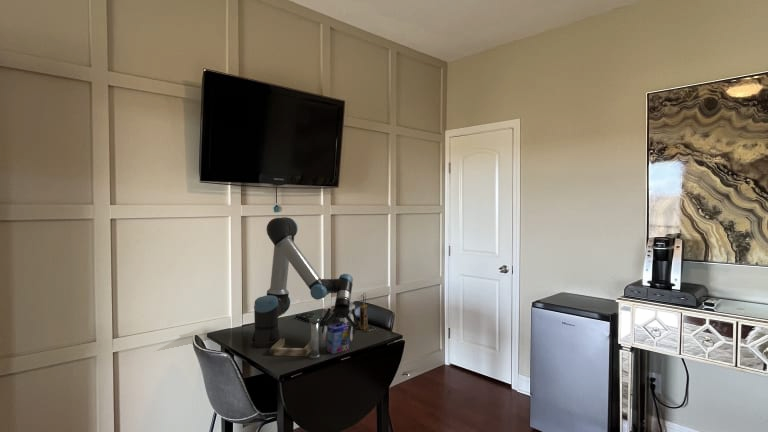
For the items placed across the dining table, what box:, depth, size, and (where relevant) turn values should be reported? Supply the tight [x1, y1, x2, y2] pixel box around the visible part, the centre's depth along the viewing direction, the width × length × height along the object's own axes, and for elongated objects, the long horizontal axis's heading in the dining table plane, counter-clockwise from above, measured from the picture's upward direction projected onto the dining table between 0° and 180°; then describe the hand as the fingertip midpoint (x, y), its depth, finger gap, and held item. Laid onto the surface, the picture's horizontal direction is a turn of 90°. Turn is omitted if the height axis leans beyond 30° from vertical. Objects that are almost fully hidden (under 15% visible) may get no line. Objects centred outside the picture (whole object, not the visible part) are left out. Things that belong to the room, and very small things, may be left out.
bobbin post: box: [308, 317, 321, 360], centre depth 191 cm, size 5×5×18 cm
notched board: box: [269, 337, 311, 357], centre depth 201 cm, size 18×16×3 cm
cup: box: [339, 303, 356, 324], centre depth 253 cm, size 10×10×10 cm
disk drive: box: [295, 312, 324, 323], centre depth 259 cm, size 10×3×15 cm
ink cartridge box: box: [326, 321, 350, 355], centre depth 200 cm, size 10×6×14 cm, turn 134°
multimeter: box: [359, 292, 378, 333], centre depth 237 cm, size 15×10×20 cm
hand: (337, 339), depth 198 cm, fingers open, 12 cm apart
